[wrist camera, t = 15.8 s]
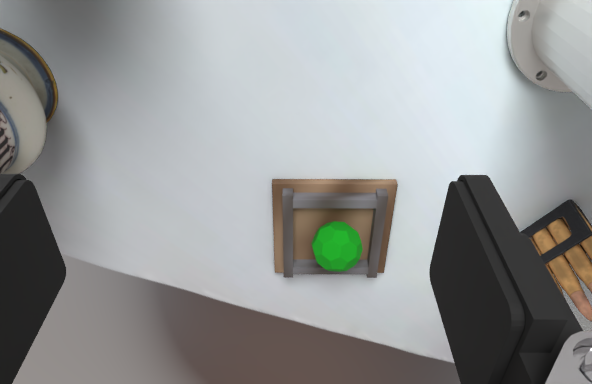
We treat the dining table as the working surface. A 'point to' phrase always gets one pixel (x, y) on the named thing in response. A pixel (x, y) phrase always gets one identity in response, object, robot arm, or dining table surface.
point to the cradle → (327, 208)
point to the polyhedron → (337, 246)
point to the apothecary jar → (23, 103)
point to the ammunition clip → (566, 250)
